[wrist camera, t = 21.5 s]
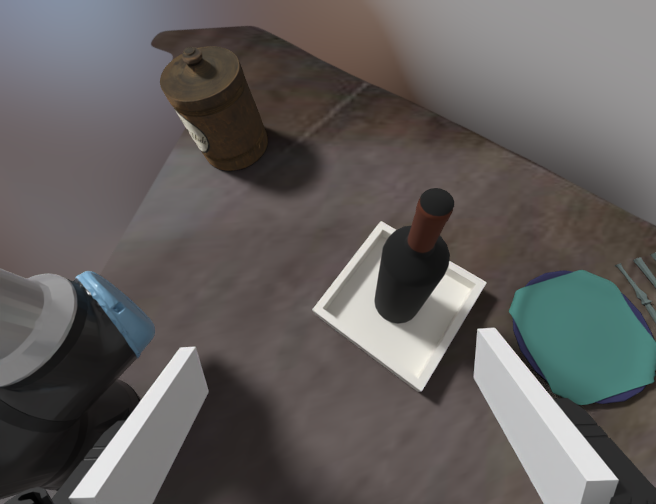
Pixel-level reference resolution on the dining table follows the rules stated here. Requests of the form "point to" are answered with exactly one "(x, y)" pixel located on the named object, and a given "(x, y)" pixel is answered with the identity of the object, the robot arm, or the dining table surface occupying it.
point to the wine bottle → (414, 259)
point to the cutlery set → (586, 335)
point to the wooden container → (216, 106)
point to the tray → (391, 338)
